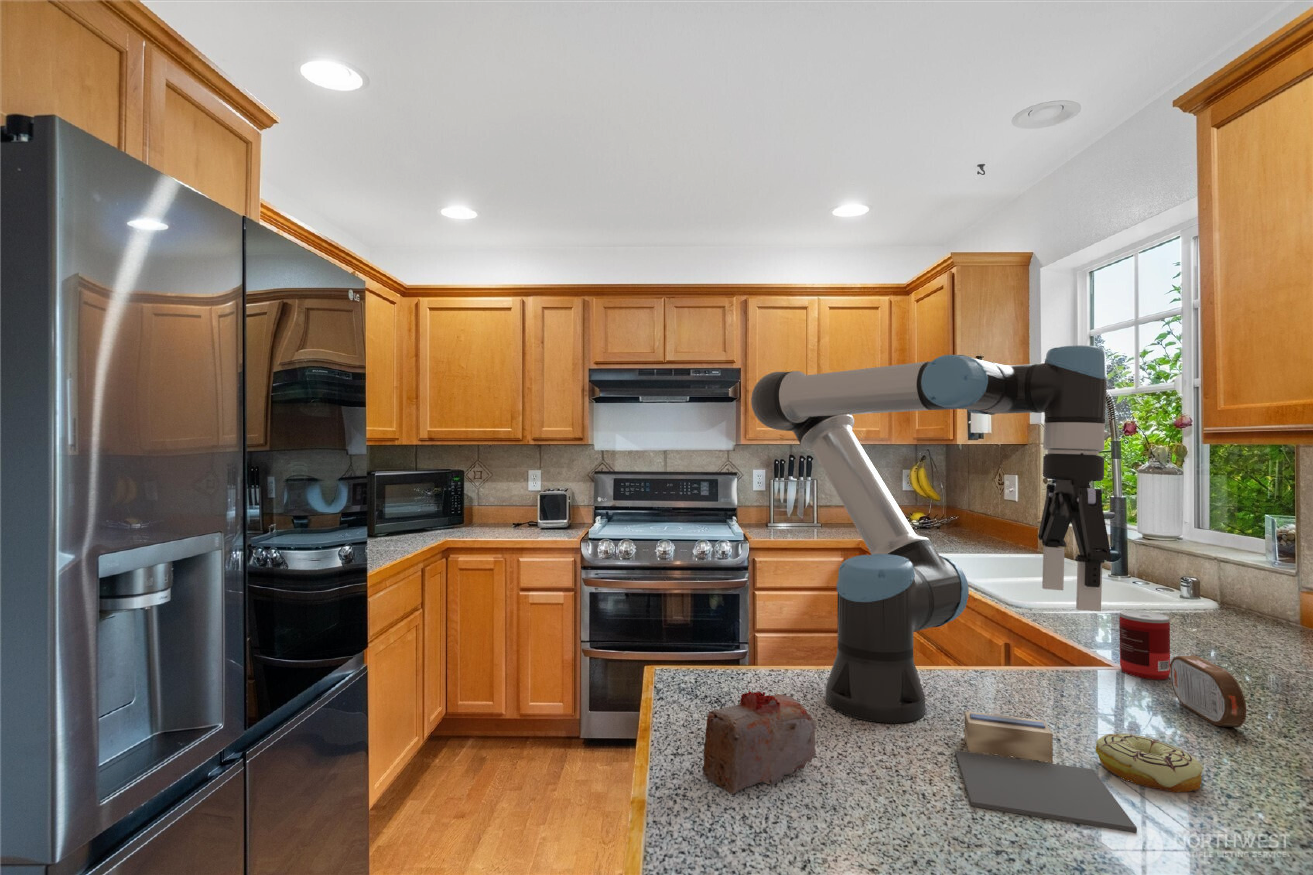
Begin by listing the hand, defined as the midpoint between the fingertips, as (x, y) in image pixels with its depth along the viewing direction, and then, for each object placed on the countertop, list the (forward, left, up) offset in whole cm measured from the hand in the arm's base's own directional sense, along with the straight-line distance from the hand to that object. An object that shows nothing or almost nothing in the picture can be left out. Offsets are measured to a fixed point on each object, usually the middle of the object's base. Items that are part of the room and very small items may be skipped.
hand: (1069, 599), depth 95 cm
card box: (-10, -8, -20) cm, 24 cm away
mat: (-9, -19, -20) cm, 29 cm away
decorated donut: (+6, -10, -20) cm, 23 cm away
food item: (-41, -26, -20) cm, 53 cm away
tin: (+23, +16, -20) cm, 34 cm away
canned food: (+22, +38, -20) cm, 48 cm away
